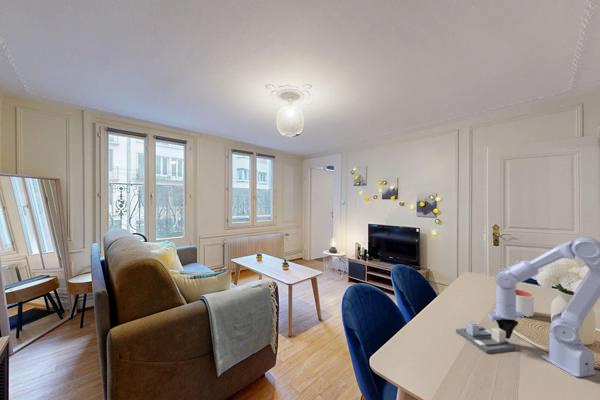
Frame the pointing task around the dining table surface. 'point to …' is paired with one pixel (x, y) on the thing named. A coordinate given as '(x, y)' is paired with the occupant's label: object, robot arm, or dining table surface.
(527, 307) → the cup
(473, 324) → the grey switch
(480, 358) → the dining table surface
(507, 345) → the switch panel
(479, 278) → the dining table surface
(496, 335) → the cream switch
